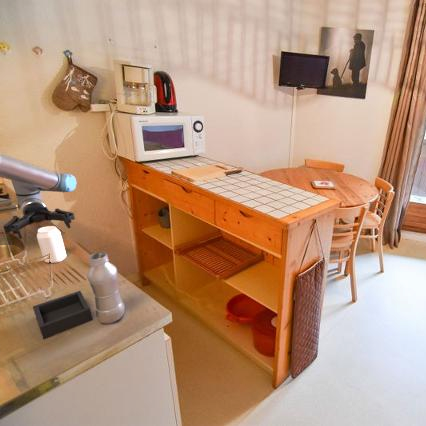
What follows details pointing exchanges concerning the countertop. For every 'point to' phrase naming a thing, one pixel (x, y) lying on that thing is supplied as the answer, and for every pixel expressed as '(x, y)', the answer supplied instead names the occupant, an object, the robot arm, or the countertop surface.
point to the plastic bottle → (105, 288)
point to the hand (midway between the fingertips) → (45, 229)
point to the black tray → (62, 314)
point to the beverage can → (51, 243)
